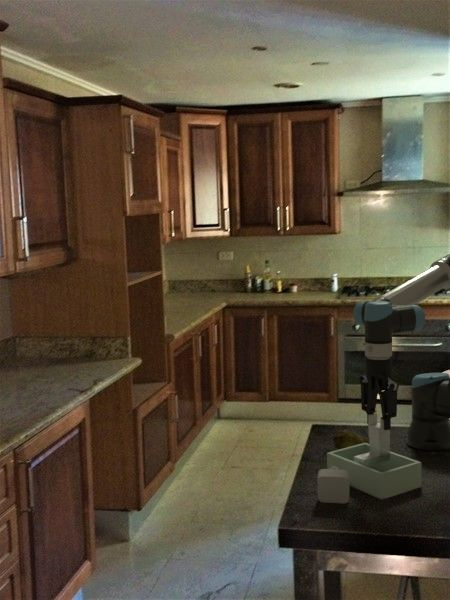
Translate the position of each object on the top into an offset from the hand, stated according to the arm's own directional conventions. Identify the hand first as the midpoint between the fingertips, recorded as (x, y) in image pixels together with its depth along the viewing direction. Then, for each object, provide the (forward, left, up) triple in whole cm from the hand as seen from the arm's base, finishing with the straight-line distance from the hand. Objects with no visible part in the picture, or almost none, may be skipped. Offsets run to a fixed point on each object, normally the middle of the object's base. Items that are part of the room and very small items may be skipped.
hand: (378, 438), depth 206 cm
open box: (+2, 0, -12) cm, 12 cm away
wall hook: (+18, +2, -12) cm, 22 cm away
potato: (-9, -20, -12) cm, 25 cm away
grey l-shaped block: (+3, 0, -6) cm, 7 cm away
